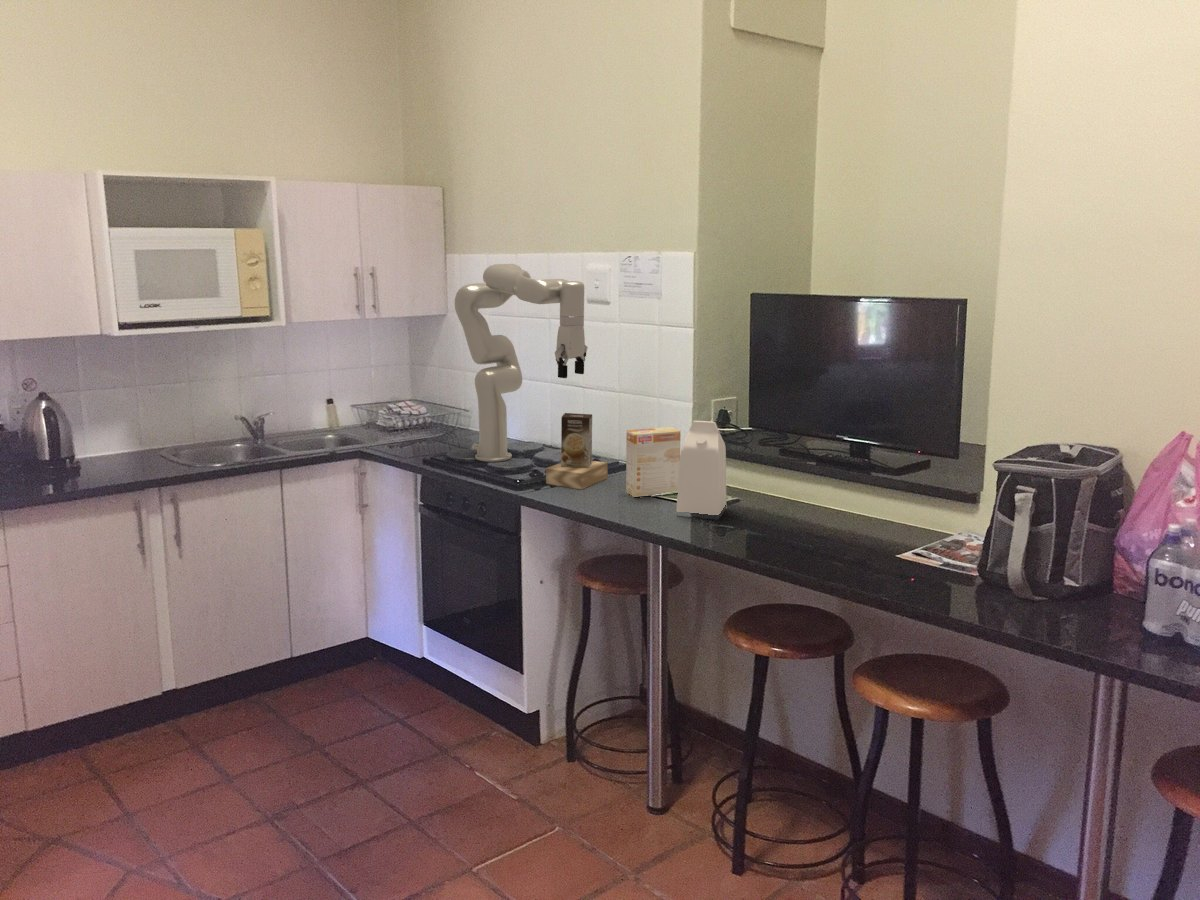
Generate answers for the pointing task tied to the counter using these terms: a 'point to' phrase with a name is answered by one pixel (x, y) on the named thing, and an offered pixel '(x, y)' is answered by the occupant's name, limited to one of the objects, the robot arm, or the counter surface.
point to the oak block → (576, 475)
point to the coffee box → (576, 440)
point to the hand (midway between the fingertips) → (571, 375)
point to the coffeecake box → (652, 461)
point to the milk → (702, 470)
